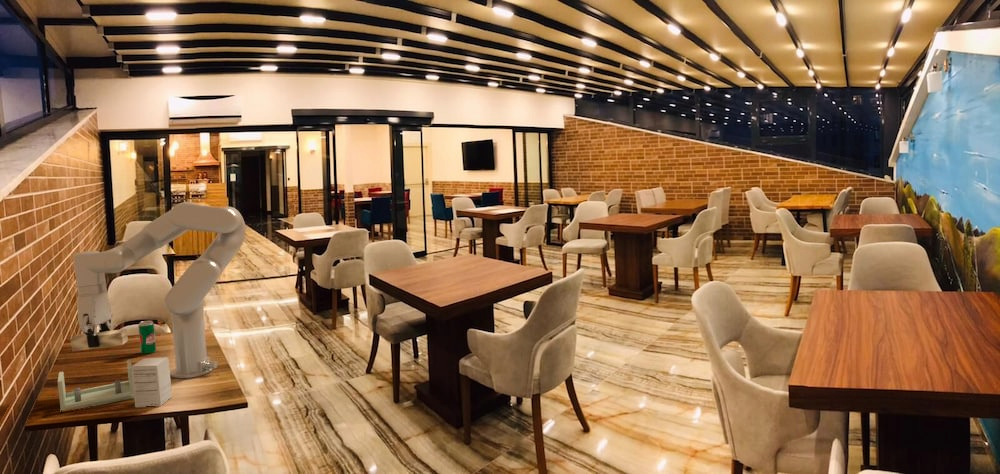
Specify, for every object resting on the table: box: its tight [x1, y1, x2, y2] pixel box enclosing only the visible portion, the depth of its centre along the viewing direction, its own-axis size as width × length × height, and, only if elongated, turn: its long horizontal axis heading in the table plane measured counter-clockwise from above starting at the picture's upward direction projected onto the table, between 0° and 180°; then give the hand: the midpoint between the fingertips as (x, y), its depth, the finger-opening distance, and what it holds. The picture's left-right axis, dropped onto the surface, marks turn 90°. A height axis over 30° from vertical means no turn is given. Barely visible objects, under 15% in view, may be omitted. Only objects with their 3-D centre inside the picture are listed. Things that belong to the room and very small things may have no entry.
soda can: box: [137, 320, 157, 355], centre depth 215 cm, size 5×5×12 cm
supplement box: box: [131, 356, 173, 408], centre depth 167 cm, size 7×7×13 cm
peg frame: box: [57, 359, 134, 411], centre depth 170 cm, size 18×12×9 cm, turn 126°
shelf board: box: [69, 328, 129, 352], centre depth 182 cm, size 14×5×4 cm, turn 107°
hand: (100, 343), depth 182 cm, fingers closed on shelf board, 5 cm apart
